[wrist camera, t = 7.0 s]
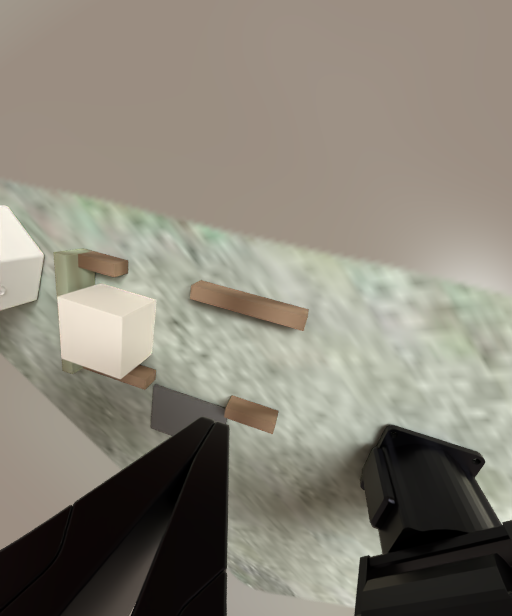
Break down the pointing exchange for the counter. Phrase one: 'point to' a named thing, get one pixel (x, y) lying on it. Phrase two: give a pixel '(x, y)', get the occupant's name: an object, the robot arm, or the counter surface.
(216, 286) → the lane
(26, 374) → the counter surface
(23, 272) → the jar
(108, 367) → the block
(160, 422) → the mat
